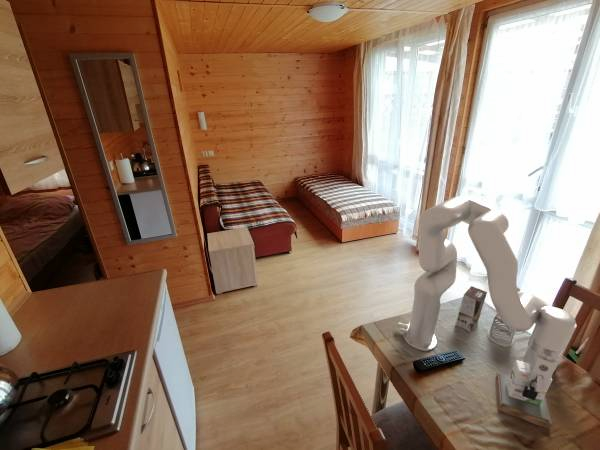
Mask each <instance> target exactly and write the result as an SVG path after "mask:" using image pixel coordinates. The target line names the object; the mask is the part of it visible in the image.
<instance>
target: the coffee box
mask: <svg viewBox="0 0 600 450" xmlns="http://www.w3.org/2000/svg"><path fill="white" fill-rule="evenodd" d="M487 294H488V292H487V291H485V290H484V289H483V290H482V289H480V288H477V287H474V286H472V285H471V286H470V287H469V288H468V289H467V291H465V292H464V293H463V296H462V300H461V303H460V307H459V310H458V315H457V318H456V322H455V325H456V326H457V327H460V328H461V329H464V330H466V331H468V332H470V333H471V331H473V329H474V328H475V326H476V325H477V324H478V323H479V320H480V316H481V314H482V310H483V307H484V304H485V299H486V298H487Z"/></svg>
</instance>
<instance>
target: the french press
mask: <svg viewBox="0 0 600 450" xmlns="http://www.w3.org/2000/svg"><path fill="white" fill-rule="evenodd" d="M517 291H518V292H520V291H521V288H520V287H518V286H517ZM525 332H526V331H524V332H518V331H514V330H512V329H510V328H509V327H507V326H506V325H505V324H504V323H503V321H502V320H501V318H500V317H499V315H498V313H496V315H495V316H494V318H493V320H492V323H491V326H490V328H489V329H487V330H486V333H485V334H486V336H487V338H488V339H489V340H490V341H491V342H492V343H495V344H496V345H498V346H502V347H511V346H513V345H514V344H515V340H514V336H515V335H518V333H519V335H522V334H524V333H525Z"/></svg>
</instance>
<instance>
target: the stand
mask: <svg viewBox="0 0 600 450" xmlns="http://www.w3.org/2000/svg"><path fill="white" fill-rule="evenodd" d="M509 376H510V375H509ZM509 376H508V375H505V374H502V373H500V372H497V373H496V376H495V383H496V384H495V386H496V397H497V398H496V399H497V410H499V411H501V412H503V413H505V414H508V415H511V416H514V417H516V418H519V419H521V420H523V421H526V422H528V423H531V424H534V425H537V426H539V427H540V428H541V427H542V428H545V429H546V430H549V429H550V428H551V425H552V420H551V415H550V411H549V407H548V402H547V397H546V395H545V396H544V398H543V400H542V402H541V404H540V405H537V404H533V403H530V402H526V401H523V400H520V399H516V398H513V397H510V396H509V395H508V392H507V387H506V383H507V381H508V378H509Z"/></svg>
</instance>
